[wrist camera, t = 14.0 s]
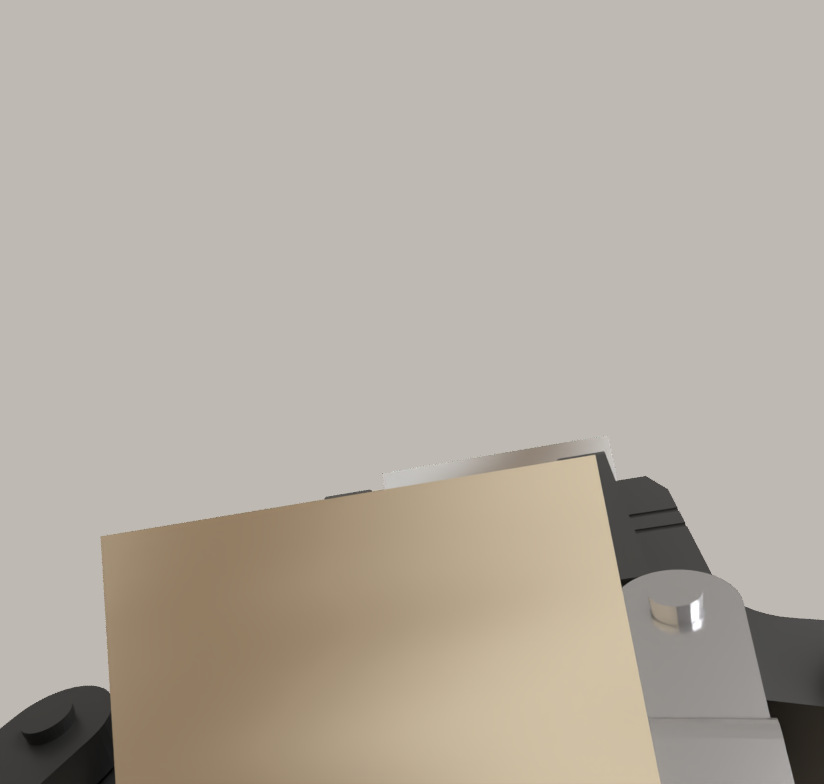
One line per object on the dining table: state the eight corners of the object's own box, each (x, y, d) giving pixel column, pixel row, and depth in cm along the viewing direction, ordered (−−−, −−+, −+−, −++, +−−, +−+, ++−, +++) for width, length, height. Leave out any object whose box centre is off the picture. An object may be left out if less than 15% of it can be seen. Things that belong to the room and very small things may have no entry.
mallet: (-113, 1117, 4) (-114, 279, 5) (442, 638, 26) (420, 487, 27) (1065, 1061, 3) (788, 72, 5) (627, 614, 25) (596, 459, 26)
